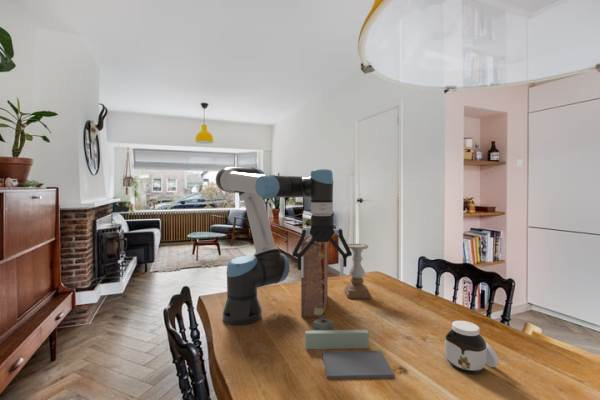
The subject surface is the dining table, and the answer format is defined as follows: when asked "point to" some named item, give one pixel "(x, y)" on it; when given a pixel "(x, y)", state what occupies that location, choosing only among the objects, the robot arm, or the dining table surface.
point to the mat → (356, 364)
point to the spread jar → (468, 348)
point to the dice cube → (322, 324)
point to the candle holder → (357, 275)
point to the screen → (336, 339)
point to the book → (314, 279)
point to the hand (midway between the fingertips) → (322, 276)
